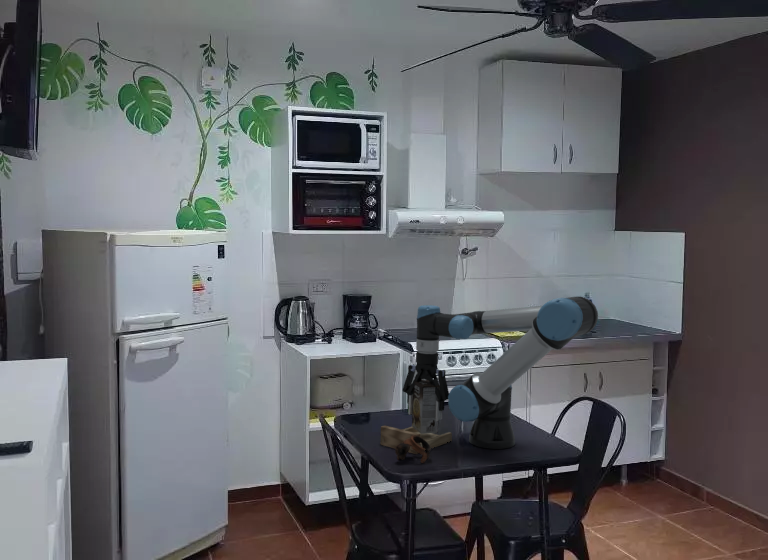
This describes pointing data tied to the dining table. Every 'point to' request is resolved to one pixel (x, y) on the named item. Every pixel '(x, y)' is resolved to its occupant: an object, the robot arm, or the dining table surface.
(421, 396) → the coffee box
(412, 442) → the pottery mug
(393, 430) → the holder
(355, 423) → the dining table surface
